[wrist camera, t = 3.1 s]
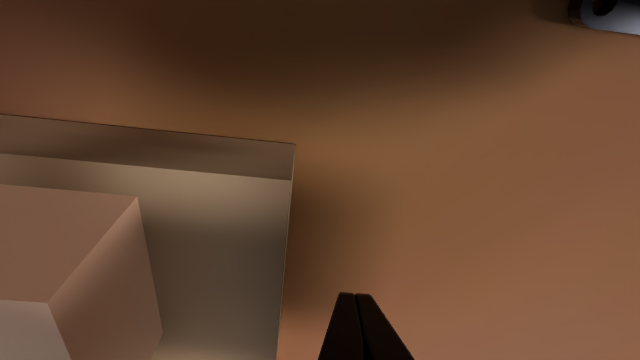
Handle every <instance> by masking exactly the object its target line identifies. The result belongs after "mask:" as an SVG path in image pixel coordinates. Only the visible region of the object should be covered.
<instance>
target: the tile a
mask: <svg viewBox="0 0 640 360" xmlns="http://www.w3.org/2000/svg"><path fill="white" fill-rule="evenodd" d="M162 334H163V330H162V325H161V319H160V314H159V309H158V303H157V298H156V293H155V287H154V282H153V277H152V271H151V266H150V261H149V255H148V250H147V245H146V240H145V234H144V229H143V224H142V218H141V213H140V208H139V202H138V197H137V196H130V195H118V194H107V193H96V192H84V191H73V190H62V189H50V188H39V187H28V186H16V185H5V184H0V360H151V359H152V357H153V355H154V352H155V350H156V348H157V345H158V343H159V341H160V339H161V336H162Z"/></svg>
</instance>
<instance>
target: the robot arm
mask: <svg viewBox="0 0 640 360" xmlns="http://www.w3.org/2000/svg"><path fill="white" fill-rule="evenodd" d="M593 1H594V0H570V2H569V6H568V16H569V19H570V20H571V22H572V23H573V24H575V25H577V26H580V27H586V28H592V29H600V30H607V31H615V32H622V33H630V34H637V35H640V0H603V3H602V5H601V6H600V8H599V9H598V10H597V11H596V12H594V13H593V10H592V6H593ZM318 360H415V359H414V358H413V357H412V355H411V354H410V352H409V351H408V349H407V348H406V346H405V345H404V343H403V342H402V340H401V339H400V337H399V336H398V334H397V333H396V331H395V330H394V328H393V327H392V326H391V324H390V323H389V321H388V320H387V318H386V317H385V315H384V314H383V312H382V311H381V309H380V308H379V306H378V305H377V303H376V302H375V300H374V299H373V298H372V296H371V295H369V294H360V293H357V294H355V295H354V294H353V293H346V292H340V293H339V295H338V297H337V301H336V304H335V307H334V310H333V313H332V316H331V320H330V323H329V326H328V329H327V332H326V335H325V338H324V342H323V345H322V348H321V351H320V354H319V357H318Z"/></svg>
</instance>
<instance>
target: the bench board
mask: <svg viewBox="0 0 640 360" xmlns="http://www.w3.org/2000/svg"><path fill="white" fill-rule="evenodd" d="M295 148H296V144H287V143H277V142H267V141H258V140H248V139H238V138H228V137H218V136H208V135H199V134H189V133H179V132H169V131H159V130H149V129H140V128H130V127H120V126H110V125H100V124H90V123H81V122H71V121H61V120H51V119H41V118H32V117H22V116H12V115H2V114H0V184H5V185H16V186H28V187H39V188H50V189H62V190H73V191H84V192H96V193H107V194H118V195H130V196H137V197H138V202H139V208H140V213H141V218H142V224H143V229H144V234H145V240H146V245H147V250H148V255H149V261H150V266H151V271H152V277H153V282H154V287H155V293H156V298H157V303H158V309H159V314H160V319H161V325H162V330H163V334H162V336H161V339H160V341H159V343H158V345H157V348H156V350H155V352H154V355H153V357H152V359H151V360H277V354H278V342H279V331H280V320H281V308H282V297H283V285H284V274H285V263H286V251H287V240H288V228H289V217H290V206H291V194H292V183H293V171H294V160H295Z"/></svg>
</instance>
